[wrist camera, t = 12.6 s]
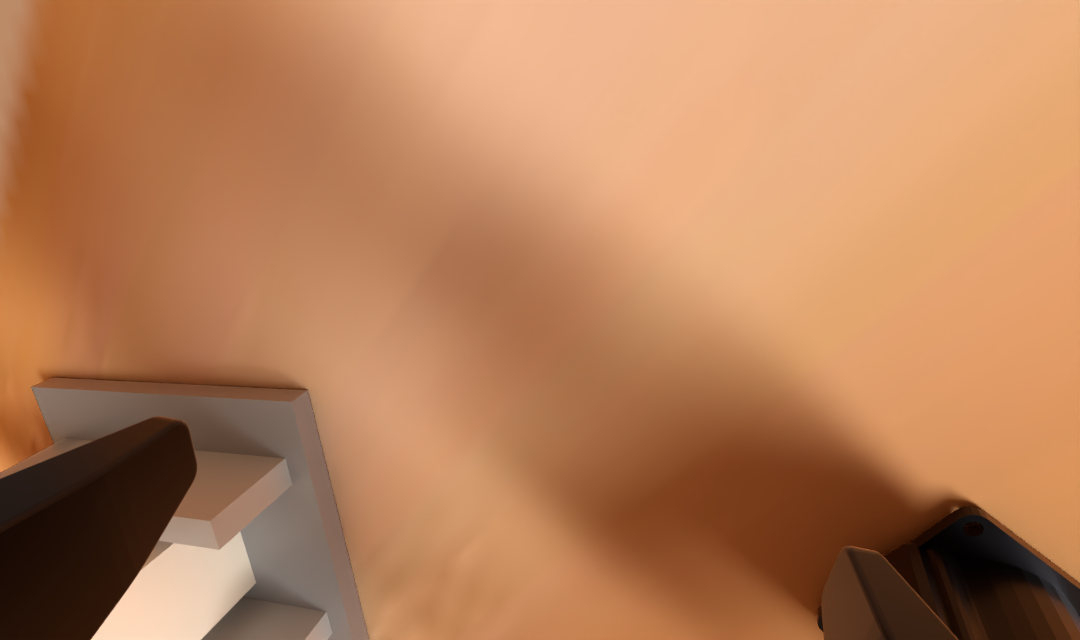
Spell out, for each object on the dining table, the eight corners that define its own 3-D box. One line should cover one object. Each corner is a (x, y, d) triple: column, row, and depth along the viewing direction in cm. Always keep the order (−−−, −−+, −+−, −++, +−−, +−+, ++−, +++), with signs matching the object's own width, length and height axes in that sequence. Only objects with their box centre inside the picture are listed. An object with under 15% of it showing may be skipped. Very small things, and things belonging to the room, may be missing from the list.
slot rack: (307, 389, 26) (212, 458, 21) (374, 663, 30) (308, 765, 26) (52, 377, 30) (-70, 432, 26) (145, 617, 35) (55, 698, 31)
